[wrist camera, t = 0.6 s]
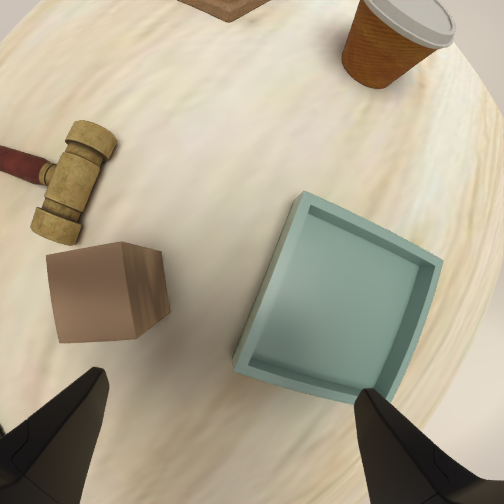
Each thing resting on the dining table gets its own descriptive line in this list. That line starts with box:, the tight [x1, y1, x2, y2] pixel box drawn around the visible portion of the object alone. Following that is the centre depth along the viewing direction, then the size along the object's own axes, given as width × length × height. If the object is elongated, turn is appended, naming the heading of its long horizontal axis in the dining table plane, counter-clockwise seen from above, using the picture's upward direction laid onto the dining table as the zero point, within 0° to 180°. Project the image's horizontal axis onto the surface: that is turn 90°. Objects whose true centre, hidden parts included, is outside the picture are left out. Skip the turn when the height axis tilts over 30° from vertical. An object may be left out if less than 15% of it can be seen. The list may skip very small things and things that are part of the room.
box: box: [232, 191, 443, 405], centre depth 23 cm, size 14×14×4 cm
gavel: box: [0, 120, 117, 246], centre depth 21 cm, size 21×5×10 cm
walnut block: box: [46, 242, 170, 343], centre depth 18 cm, size 5×5×10 cm
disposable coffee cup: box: [342, 0, 456, 89], centre depth 20 cm, size 10×10×12 cm
